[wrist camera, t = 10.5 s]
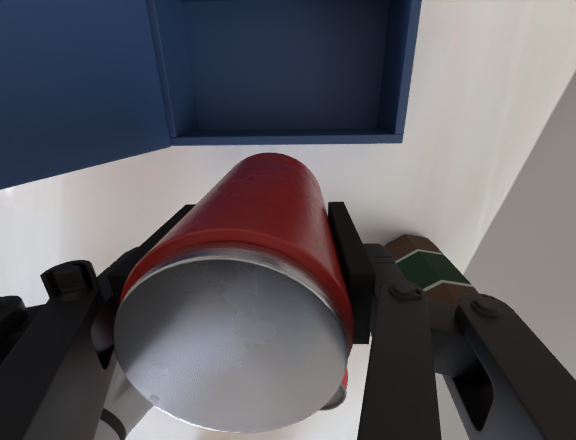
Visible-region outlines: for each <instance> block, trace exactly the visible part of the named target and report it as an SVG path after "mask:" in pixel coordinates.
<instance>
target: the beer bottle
mask: <svg viewBox="0 0 576 440" xmlns="http://www.w3.org/2000/svg"><path fill="white" fill-rule="evenodd" d="M385 248H386V249H388V251H389V252H390V254H391V255H392V258H393V259H394V260H395V262H396V264H397V265H398V267H399V268H400V270H401V272H402V273H403V275H404V277H405V278H406V280H407V281H408V282H412V283H414V284H416V285H418V286H419V287H421V288H422V289H423V290H424V291H425V293H426V295H427V298H429V299H432V300H435V301H439V302H445V303H450V304H455V305H457V303H458V300H459V298H460V296H461V295H464V294H466V293H478V292H477V291H476V289H475V288H474V287H473V286H472V285H471V284H470V282H469V281H468V280H467V279H466V278H465V277H464V276H463V275H462V274H461V273H460V272H459V271H458V269H457V268H456V267H455V266H454V265H453V264H452V263H451V262H450V261H449V260H448V259H447V258H446V257H445V255H444V254H443V253H442V252H441V251H440V250H439V249H438V248H437V247H436V246H435V245H434V244H433V243H432V242H431V241H430V240H429V239H428V238H423V237H417V236H411V235H403V236H401V237H400V238H398V239H396V240H394V241H393V242H391V243H389V244H387V245H386V246H385Z"/></svg>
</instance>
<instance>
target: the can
mask: <svg viewBox="0 0 576 440" xmlns="http://www.w3.org/2000/svg"><path fill="white" fill-rule="evenodd" d="M353 339H354V318H353V312H352V308H351V304H350V300H349V296H348V292H347V289H346V285H345V281H344V277H343V273H342V269H341V266H340V262H339V258H338V254H337V250H336V246H335V243H334V239H333V235H332V231H331V227H330V223H329V219H328V216H327V212H326V208H325V204H324V200H323V196H322V193H321V189H320V186H319V184H318V182H317V180H316V178H315V177H314V175H313V174H312V172H311V171H310V170H309V169H308V168H307V167H306V166H305V165H303V164H302V163H301V162H299V161H298V160H296V159H294V158H292V157H290V156H287V155H284V154H279V153H260V154H256V155H253V156H250V157H248V158H246V159H244V160H242V161H241V162H239V163H238V164H237V165H236V166H235V167H234V168H233V169H232V170H231V171H230V172H229V173H228V174H227V175H226V176H225V177H223V178H222V179H221V180H220V181H219V182H218V183H217V184H216V185H215V186H214V187H213V188H212V189H211V190H210V191H209V192H208V193H207V194H206V195H205V196H204V197H203V198H202V199H201V200H200V201H199V202H198V203H197V204H196V205H195V206H194V207H193V208H192V209H191V210H190V211H189V212H188V213H187V214H186V215H185V216H184V217H183V218H182V219H181V220H180V221H179V222H178V223H177V224H176V225H175V226H174V227H173V228H172V229H171V230H170V231H169V232H168V233H167V234H166V235H165V236H164V237H163V238H162V239H161V240H160V241H159V242H158V243H157V244H156V245H155V246H154V247H153V248H152V249H151V250H150V251H149V252H148V253H147V254H146V255H145V256H144V257H143V258H142V259H141V260H140V261H139V262H138V263H137V264H136V265H135V267H134V268H133V270H132V271H131V272H130V274H129V276H128V278H127V280H126V282H125V284H124V287H123V290H122V294H121V298H120V306H119V308H118V310H117V313H116V316H115V320H114V325H113V345H114V350H115V354H116V357H117V360H118V362H119V365H120V367H121V369H122V371H123V372H124V374H125V376H126V377H127V379H128V380H129V381H130V383H131V384H132V385H133V386H134V388H135V389H136V390H137V391H138V392H139V393H140V394H141V395H142V396H143V397H144V398H146V399H147V400H148V401H149V402H151V403H152V404H153V405H155V406H156V407H158V408H159V409H161V410H162V411H164V412H165V413H167V414H169V415H171V416H173V417H175V418H177V419H179V420H182V421H184V422H187V423H189V424H192V425H196V426H199V427H202V428H206V429H211V430H215V431H222V432H232V433H256V432H265V431H271V430H275V429H280V428H283V427H286V426H290V425H292V424H295V423H297V422H299V421H302V420H304V419H305V418H307V417H309V416H311V415H312V414H314V413H315V412H317V411H318V410H319V409H321V408H322V407H323V406H324V405H325V404H326V403H327V402H328V401H329V400H330V399H331V398H332V396H333V395H334V394H335V393H336V391H337V390H338V388H339V386H340V384H341V382H342V380H343V377H344V374H345V371H346V367H347V361H348V357H349V355H350V352H351V349H352V345H353Z"/></svg>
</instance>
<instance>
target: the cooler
mask: <svg viewBox="0 0 576 440" xmlns="http://www.w3.org/2000/svg"><path fill="white" fill-rule="evenodd" d="M145 1H146V6H147V12H148V18H149V24H150V29H151V35H152V41H153V47H154V52H155V58H156V64H157V70H158V75H159V81H160V87H161V93H162V98H163V104H164V110H165V116H166V122H167V127H168V133H169V139H170V145H171V146H199V145H288V144H377V143H402V140H403V133H404V126H405V119H406V111H407V104H408V97H409V89H410V82H411V75H412V67H413V60H414V53H415V45H416V38H417V31H418V23H419V16H420V9H421V1H422V0H145Z"/></svg>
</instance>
